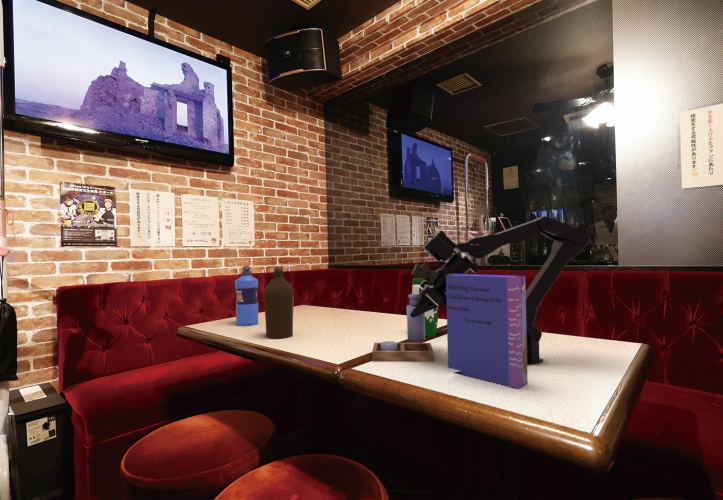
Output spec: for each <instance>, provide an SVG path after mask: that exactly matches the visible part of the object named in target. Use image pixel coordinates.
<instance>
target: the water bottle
mask: <svg viewBox="0 0 723 500" xmlns="http://www.w3.org/2000/svg"><path fill="white" fill-rule="evenodd" d="M241 269H242V270H241V271H240V272H241V273H240V274H241V276H240V277H239V278H237V279H235V281H234V283H235V284H234V285H235V287H234V288H235V291H236V292H235V293H236V302H235V316H236V317H235V319H236V320H235V323H236V326H237V327H253V326H257V325H259V301H258V287H259V280H258V279H257V278H256V277H254V276H253V275H252V273H253V272H252V268H251V267H250V266H249V265H244V266H243V267H241Z"/></svg>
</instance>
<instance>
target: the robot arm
mask: <svg viewBox="0 0 723 500" xmlns="http://www.w3.org/2000/svg"><path fill="white" fill-rule="evenodd" d="M537 234H542V235H544V236H545V237H546V238H548V239H550V240H553V243H552V247H551V251H550V254H549V256H548V257H547V259H546V261H545V262H544V263H543V265H542V266H541V268H540V269H539V271H538V273H537V274H536V275H535V277H534V279H533V280H532V282H531V283H530V285H529V286H528V287H527V289H526V334H527V366H528V365H529V366H530V365H533V364H536V363H541V362H544V359H543V358H541V357H540V341H541V338H542V335H543V332H542V331H541V330H540V329H538V328H537V327H536V325H534V323H535V320H536V318H537V314H538V313H537V312H538V309H539V306H540V304H541V303H542V301H543V300H544V298H545V297H546V295H547V293H548V292H549V290H551V287H552V286H553V285H554V283H555V282H556V280H557V279H558V277H559V276H560V274H561V273H562V271H563V270H564V268H565V267H566V265H567V264H568V263H569V262H570V261H571V260H572V259H574V258H575V257H576V256H577V255H579V254H580V253H581V252H582V251H583V250H584V249H585V248H586V247H587V245H588V244H589V243H590V239H591V236H590V234H589V231H588V230H587V229H586V228H585V227H583V226H573V225H571V224H568V223H565V222H561V221H558V220H555V219H553V218H551V217H549V216H546V215H545V216H540V217H536V218H534V219H533V220H531V221H527V222H525V223H522V224H521V223H520V224H519V225H516V226H513V227H510V228H507V229H505V230H502V231H499V232H496V233H491V234H486V235H479V236H474V237H469V238H468V239H466V240H465V241H464V242H463V243H461V242H456V243H455V242H454V241H452V239H451V238H449V236H447V234H446V233H445V232H444V231H443V230H439V232H438V233H436V235H435V236H433V237H432V238H430V239H429V241H428V242H427V243H426V244H425V245H424V246H423V249H424V250H425V251H426V252H427V253H428V254H429V255H430V256H431V257H432V258H434V260H436V262H440V261H442V262H443V263H444V262H446V263H445V264H444V265H442V267H440V268H437V269H436V270H435V271H434V270H431V268H430V265H428V264H426V263H423V264H421V265H420V264H418V263H415V265H414V267H413V270H412V272H411V275H412V276H415V278H423V279H424V280H423V281H422V283H421V284H420V286H421V287H422V289H421V288H420V287H419V294H421V298H420V300H419V302H418V303H417V305H416V306H415V308H414V309H413V311H412V312H411V314H410V316H411V317H412V318H413V317H416V316H418V315H420V314H423V313H425V312H428V311H430V310H433V309H435V308H438V309H439V307H440V309H443V307H444V306H445V305H447V296H446V275H448V274H468V272H469V271H471V272H472V273H473V274H478V272H479V271H478V270H479V269H478V265H479V264H478V262H473V261H471V259H483V258H485V257H487V256H488V255H490V254H492V253H494V252H496V250H498V249H499V248H501V247H503V246H506V245H509V244H512V243H514V242H518V241H520V240H523V239H526V238H529V237H532V236H535V235H537ZM459 253H464V254H465V255H463V256H462V255H460V254H459ZM452 254H453V255H452ZM469 258H470V259H469ZM436 304H438V306H437V305H436Z"/></svg>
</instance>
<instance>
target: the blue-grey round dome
mask: <svg viewBox="0 0 723 500" xmlns="http://www.w3.org/2000/svg"><path fill="white" fill-rule="evenodd" d="M380 343H381V351H397V343H398V342H396V341H391V340H390V341H388V340H387V341H380Z"/></svg>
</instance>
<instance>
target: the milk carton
mask: <svg viewBox="0 0 723 500" xmlns="http://www.w3.org/2000/svg"><path fill="white" fill-rule="evenodd" d="M423 280H425V279H423V278H421V277H413V278H412V285H411V287H412V289H411V290H412V291H411V294H419V287H420V288H421V289H422V287H421V286H420V284H421V283H422V281H423ZM436 305H437V306H438V308H435V309H433V310H430V311H428V312H425V336H427V337H428V338H431V337H432V338H436V336H437V335H436V334H437V329H438V322H439V321H438V320H439V305H438V304H436Z"/></svg>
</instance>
